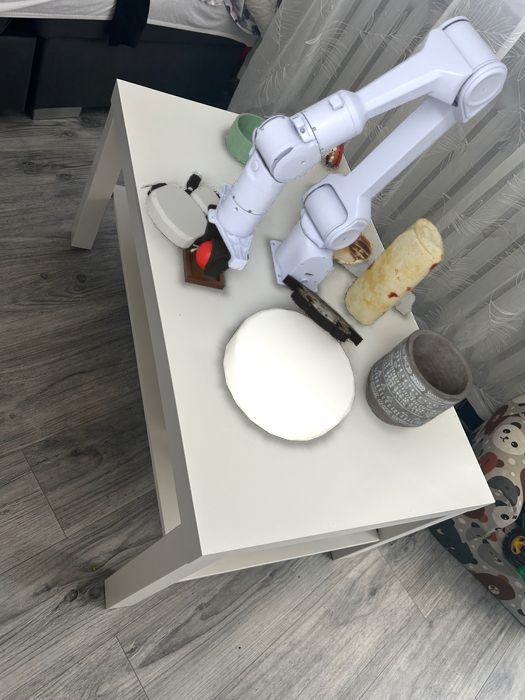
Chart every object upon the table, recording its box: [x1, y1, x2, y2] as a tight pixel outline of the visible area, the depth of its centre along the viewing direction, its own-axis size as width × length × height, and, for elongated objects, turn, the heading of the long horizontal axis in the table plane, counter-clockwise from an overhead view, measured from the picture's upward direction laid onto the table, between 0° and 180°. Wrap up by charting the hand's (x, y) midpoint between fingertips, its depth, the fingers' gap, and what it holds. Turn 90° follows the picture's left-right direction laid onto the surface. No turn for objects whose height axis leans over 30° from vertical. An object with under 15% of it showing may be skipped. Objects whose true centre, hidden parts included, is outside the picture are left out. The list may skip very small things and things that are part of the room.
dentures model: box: [325, 143, 345, 168], centre depth 124 cm, size 6×4×8 cm
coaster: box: [182, 248, 226, 291], centre depth 92 cm, size 6×6×1 cm
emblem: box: [282, 274, 364, 347], centre depth 93 cm, size 16×2×15 cm
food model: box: [344, 217, 444, 327], centre depth 98 cm, size 10×7×20 cm
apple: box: [196, 241, 212, 270], centre depth 89 cm, size 5×5×5 cm
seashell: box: [333, 231, 374, 266], centre depth 105 cm, size 8×6×10 cm
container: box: [222, 307, 356, 442], centre depth 87 cm, size 20×20×5 cm
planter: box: [365, 328, 474, 428], centre depth 92 cm, size 12×12×13 cm
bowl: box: [225, 112, 267, 166], centre depth 113 cm, size 10×10×4 cm
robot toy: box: [140, 170, 220, 252], centre depth 94 cm, size 12×4×15 cm
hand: (208, 261), depth 90 cm, fingers closed on apple, 4 cm apart
